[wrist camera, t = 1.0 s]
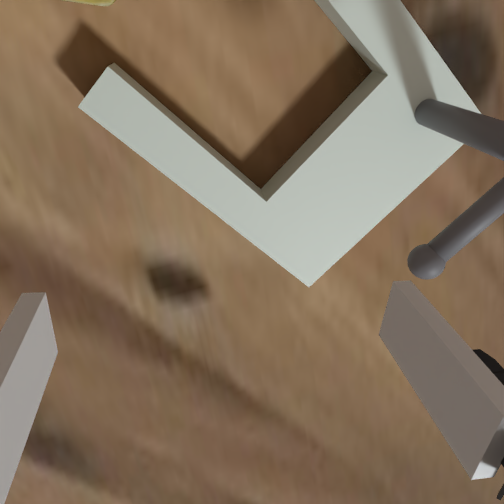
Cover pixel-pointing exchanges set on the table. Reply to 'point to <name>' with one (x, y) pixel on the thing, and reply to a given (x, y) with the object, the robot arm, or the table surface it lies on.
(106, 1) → the flower pot
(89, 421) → the table surface
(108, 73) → the l-shaped hook stand
